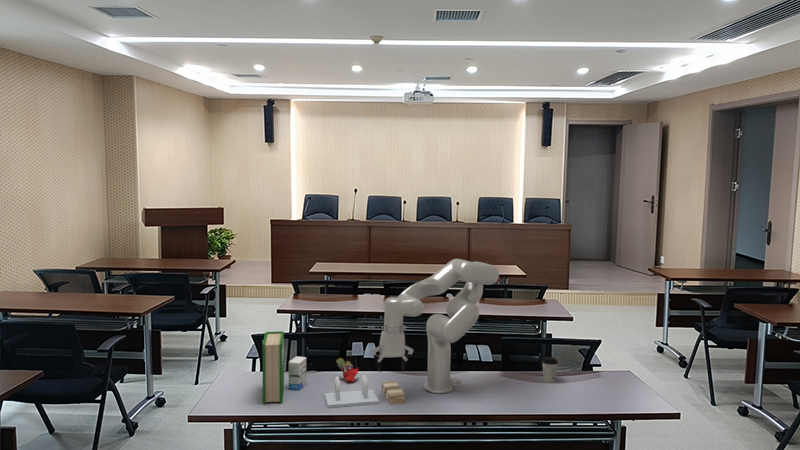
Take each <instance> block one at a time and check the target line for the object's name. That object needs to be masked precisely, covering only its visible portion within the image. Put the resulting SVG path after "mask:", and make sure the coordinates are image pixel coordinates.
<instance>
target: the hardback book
mask: <svg viewBox="0 0 800 450" xmlns="http://www.w3.org/2000/svg"><path fill="white" fill-rule="evenodd" d="M284 334H285V333H284V331H281V330H280V331H278V330H277V331H265V332H264V337H263V340H262V348H261V351H262V405H266V404H267V403H274V402H275V403H277V402H279V404H281V405H282V404H283V399H284V390H285V389H284V388H285V352H284V351H285V344H284V343H285V341H284V339H285V335H284Z"/></svg>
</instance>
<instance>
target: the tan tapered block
mask: <svg viewBox="0 0 800 450" xmlns="http://www.w3.org/2000/svg"><path fill="white" fill-rule="evenodd" d="M381 392H382V394H383V396H384V397H385V399H386V401H387V402H388V404H389V405H390V406H391V405H400V404H405V398H406V397H405V395H406V394H405V392H404V391H403V390H402V388H401V387H400V385H399V384H398V382H397V381H396V380H393V381H392V380H391V381H381Z"/></svg>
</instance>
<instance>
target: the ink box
mask: <svg viewBox="0 0 800 450" xmlns="http://www.w3.org/2000/svg"><path fill="white" fill-rule="evenodd" d="M305 385H307V357H305V356H295V357H293V358H292V359H291V360H289V361H288V390H293V391H294V390H295V391H301V390H302V388H303V387H305Z"/></svg>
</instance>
